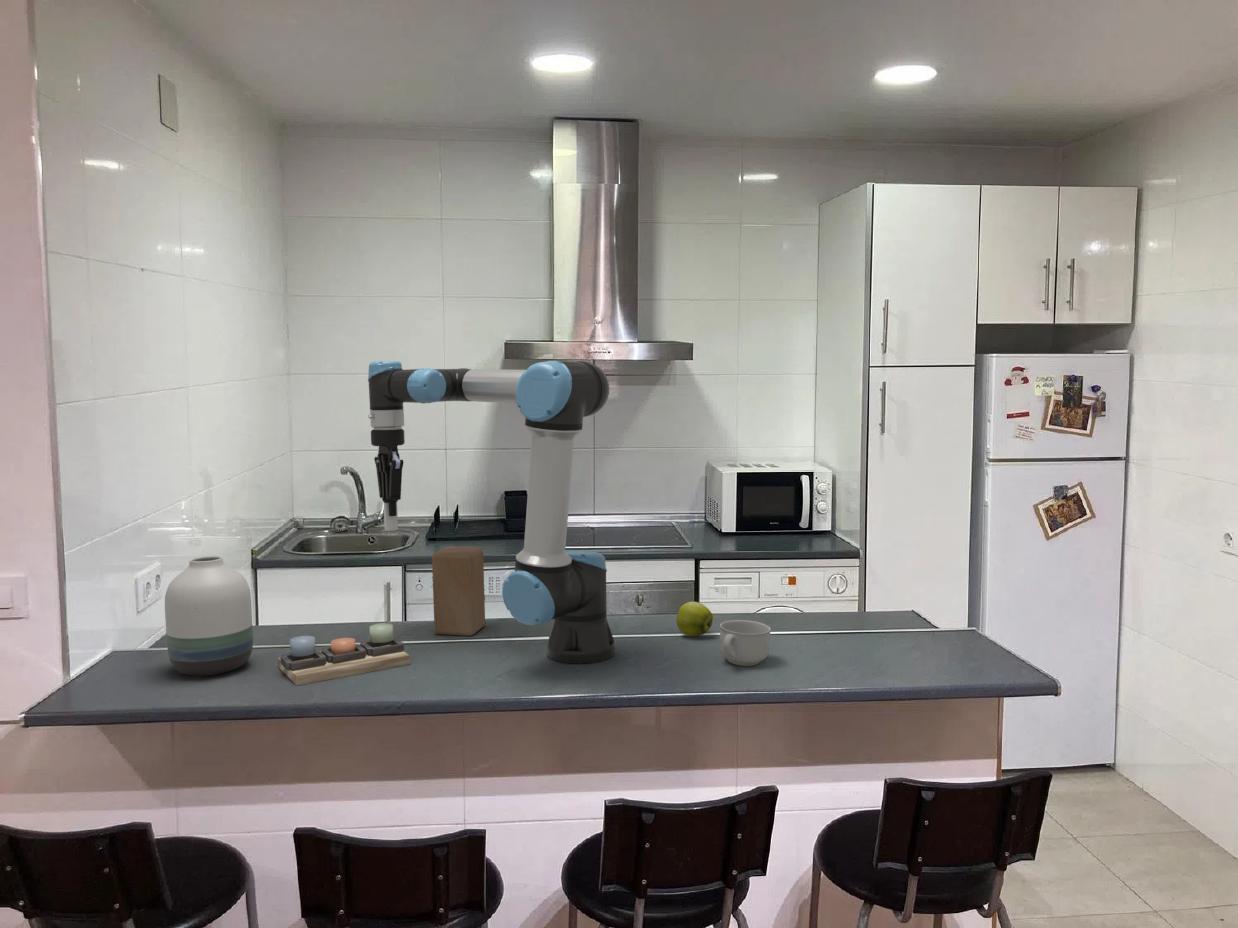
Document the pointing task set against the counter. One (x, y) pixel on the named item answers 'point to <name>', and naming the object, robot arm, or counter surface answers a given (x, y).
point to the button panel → (344, 662)
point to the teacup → (744, 641)
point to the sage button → (381, 633)
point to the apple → (694, 619)
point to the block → (458, 590)
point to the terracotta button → (343, 646)
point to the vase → (208, 618)
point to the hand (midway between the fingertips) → (391, 529)
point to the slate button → (302, 646)
